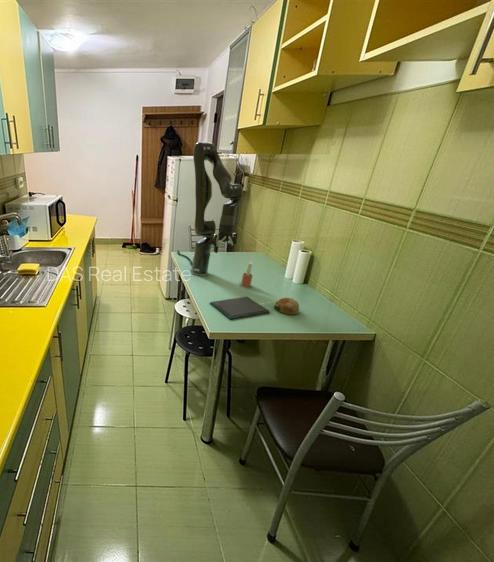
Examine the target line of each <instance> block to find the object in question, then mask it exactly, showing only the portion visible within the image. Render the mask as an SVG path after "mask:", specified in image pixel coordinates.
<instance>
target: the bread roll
mask: <svg viewBox="0 0 494 562" xmlns="http://www.w3.org/2000/svg"><path fill="white" fill-rule="evenodd" d="M274 308H275V309H276V310H277V311H278V312H280V313H281V314H285V315H291V316H292V315H293V316H294V315H298V314H299V310H300V305H299V302H298V301H297V300H296V299H294V298H293V297H292V298H291V297H283V298H280V299H279V300H277V301H275V305H274Z"/></svg>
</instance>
